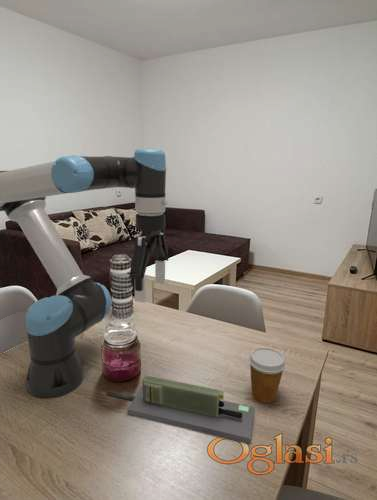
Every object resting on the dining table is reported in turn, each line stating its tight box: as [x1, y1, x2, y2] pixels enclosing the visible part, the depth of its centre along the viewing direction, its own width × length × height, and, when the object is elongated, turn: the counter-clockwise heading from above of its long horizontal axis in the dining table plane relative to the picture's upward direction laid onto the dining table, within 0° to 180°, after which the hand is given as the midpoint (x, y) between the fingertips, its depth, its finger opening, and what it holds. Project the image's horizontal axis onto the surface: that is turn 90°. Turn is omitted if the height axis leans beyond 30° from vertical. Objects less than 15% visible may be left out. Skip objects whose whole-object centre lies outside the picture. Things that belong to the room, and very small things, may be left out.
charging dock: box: [106, 384, 255, 444], centre depth 83 cm, size 38×10×2 cm, turn 74°
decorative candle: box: [108, 253, 134, 321], centre depth 128 cm, size 9×9×25 cm
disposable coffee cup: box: [248, 346, 287, 404], centre depth 87 cm, size 10×10×12 cm
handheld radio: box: [141, 374, 242, 418], centre depth 80 cm, size 7×3×25 cm
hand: (151, 291), depth 88 cm, fingers open, 13 cm apart
